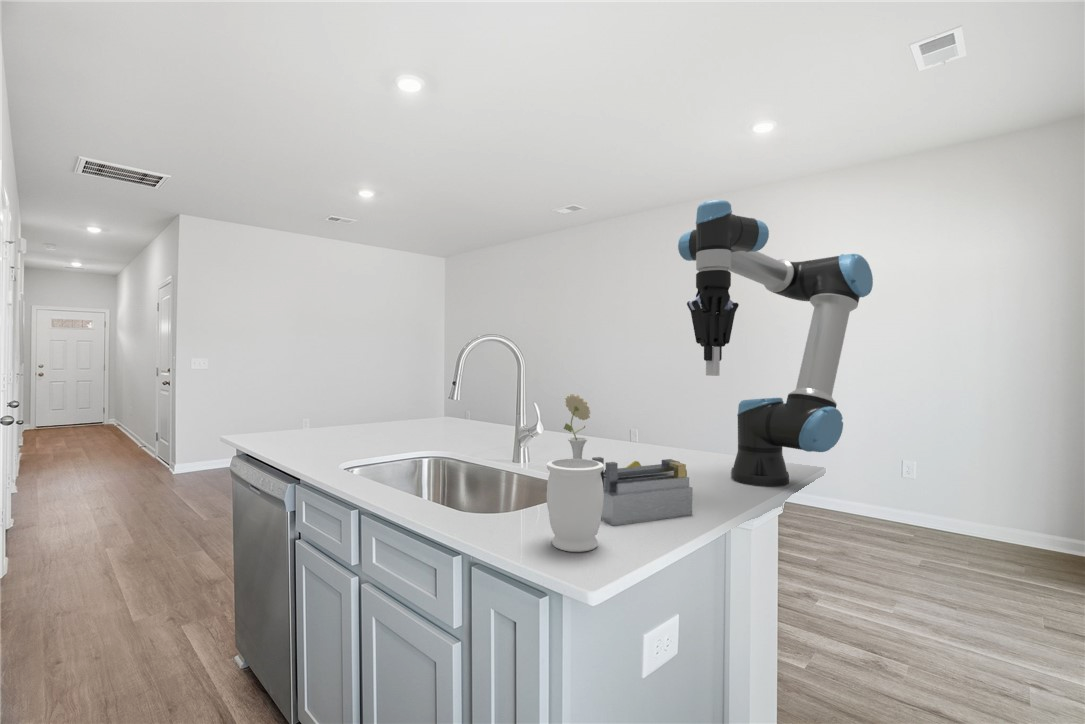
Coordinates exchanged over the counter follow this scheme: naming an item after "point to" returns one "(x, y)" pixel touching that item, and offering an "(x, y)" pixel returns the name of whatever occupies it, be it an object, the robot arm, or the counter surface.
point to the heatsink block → (645, 495)
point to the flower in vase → (582, 412)
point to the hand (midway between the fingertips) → (712, 375)
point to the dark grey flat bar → (646, 469)
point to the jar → (575, 503)
